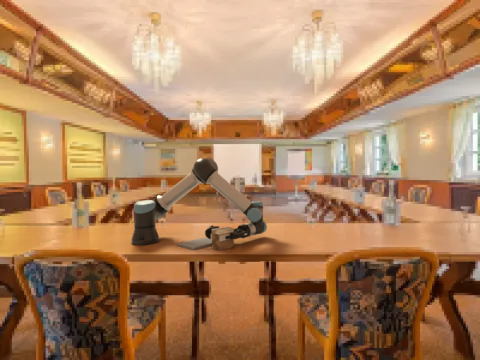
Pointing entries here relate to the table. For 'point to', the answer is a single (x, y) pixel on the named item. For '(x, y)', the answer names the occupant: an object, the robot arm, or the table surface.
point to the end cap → (210, 231)
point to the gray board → (196, 243)
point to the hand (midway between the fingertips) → (215, 237)
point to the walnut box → (216, 238)
